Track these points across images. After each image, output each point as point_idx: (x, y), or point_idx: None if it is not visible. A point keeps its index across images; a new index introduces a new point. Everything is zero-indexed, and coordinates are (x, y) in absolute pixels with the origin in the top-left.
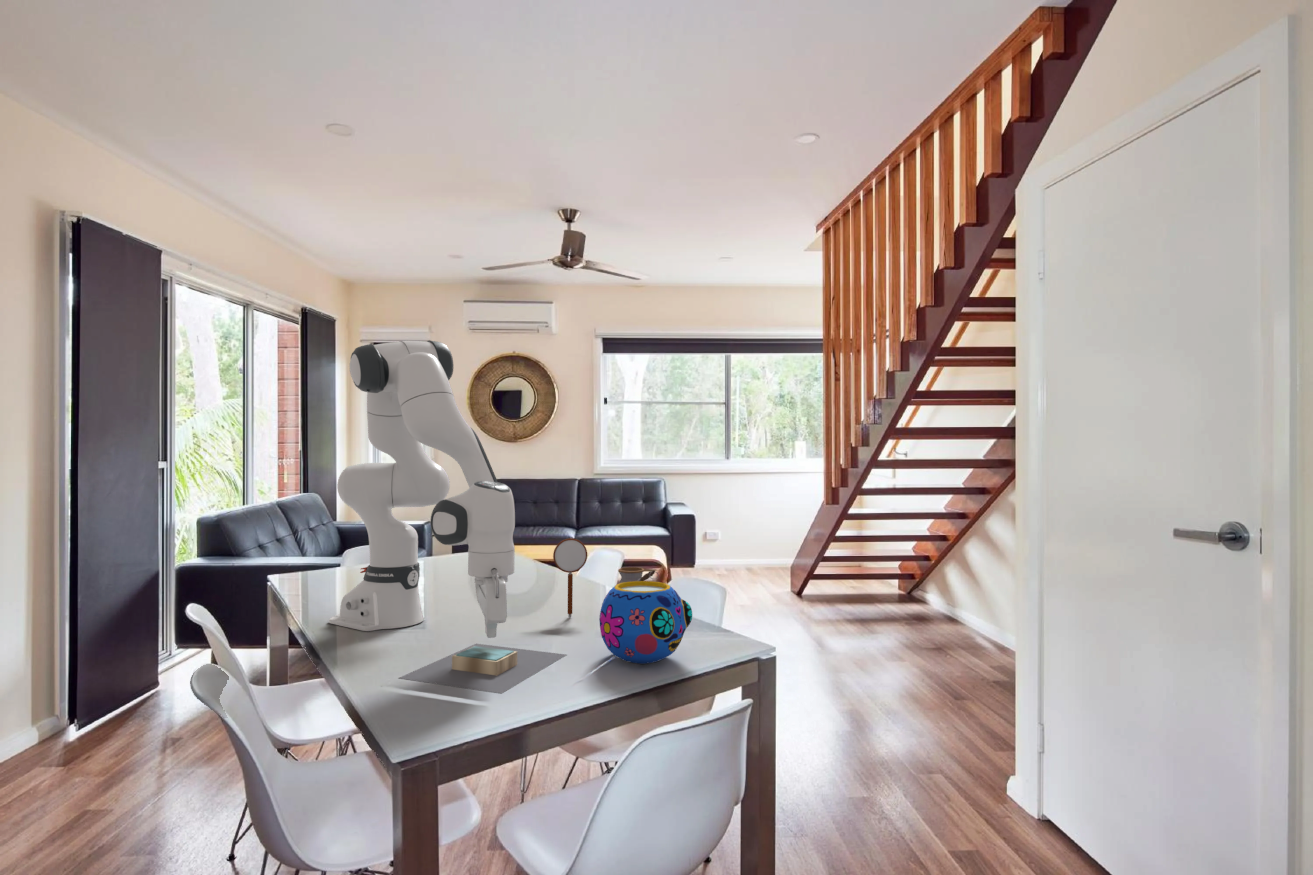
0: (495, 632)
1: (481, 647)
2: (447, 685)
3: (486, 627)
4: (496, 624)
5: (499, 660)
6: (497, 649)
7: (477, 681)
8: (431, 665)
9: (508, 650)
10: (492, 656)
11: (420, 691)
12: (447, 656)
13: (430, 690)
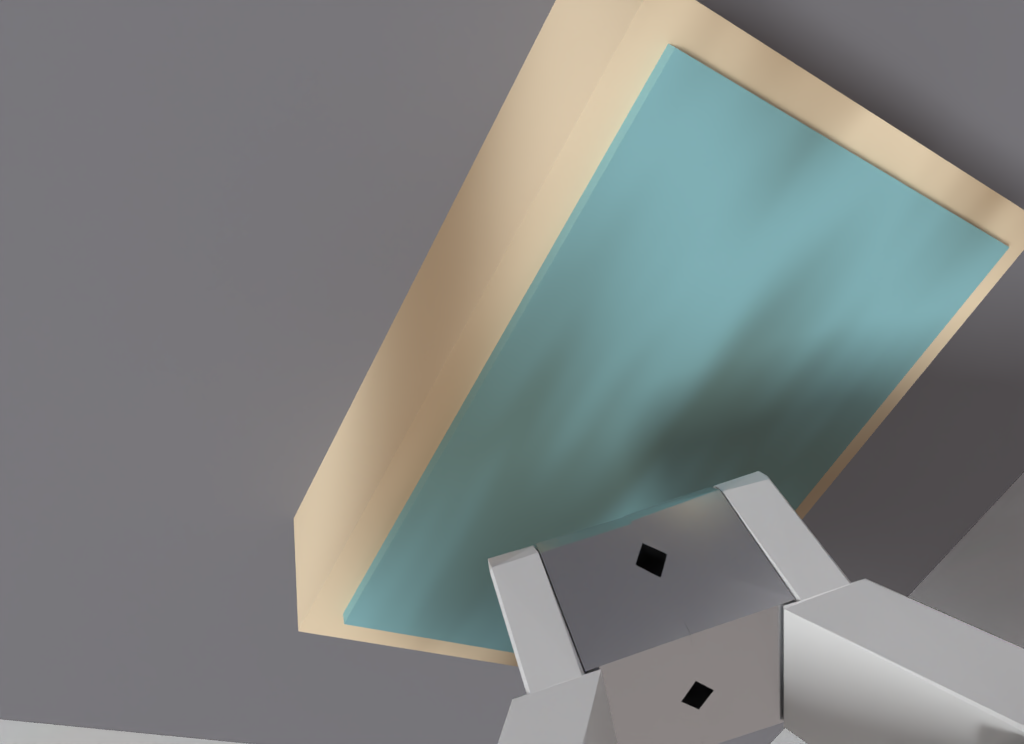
0: (795, 526)
1: (414, 539)
2: (996, 499)
3: (733, 736)
4: (977, 640)
5: (1001, 204)
6: (542, 325)
7: (1012, 314)
8: (483, 740)
9: (625, 147)
10: (852, 321)
11: (948, 608)
12: (214, 735)
13: (956, 566)
